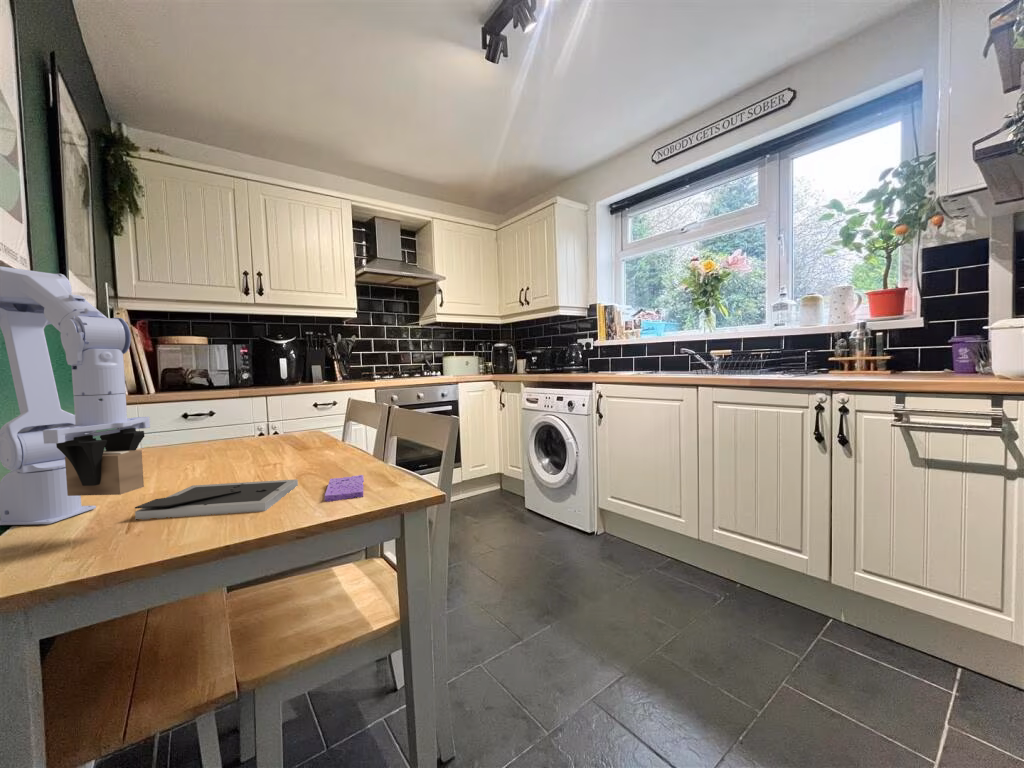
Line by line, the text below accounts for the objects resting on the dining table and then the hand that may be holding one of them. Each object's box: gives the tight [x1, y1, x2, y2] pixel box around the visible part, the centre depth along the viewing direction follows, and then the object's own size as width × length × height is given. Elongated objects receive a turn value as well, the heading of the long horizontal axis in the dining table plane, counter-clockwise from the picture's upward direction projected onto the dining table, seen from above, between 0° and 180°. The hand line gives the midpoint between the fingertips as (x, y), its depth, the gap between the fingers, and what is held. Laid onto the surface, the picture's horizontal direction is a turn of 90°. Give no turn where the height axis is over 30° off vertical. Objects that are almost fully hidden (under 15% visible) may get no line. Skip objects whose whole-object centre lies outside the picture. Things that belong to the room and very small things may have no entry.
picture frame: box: [134, 478, 299, 520], centre depth 79 cm, size 16×3×21 cm
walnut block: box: [65, 449, 145, 497], centre depth 64 cm, size 8×4×6 cm, turn 90°
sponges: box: [324, 474, 365, 502], centre depth 84 cm, size 7×13×2 cm, turn 20°
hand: (106, 480), depth 64 cm, fingers closed on walnut block, 4 cm apart
